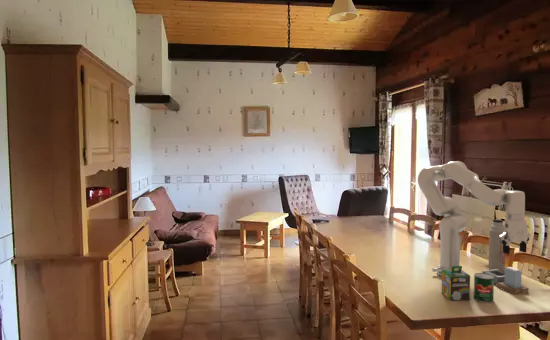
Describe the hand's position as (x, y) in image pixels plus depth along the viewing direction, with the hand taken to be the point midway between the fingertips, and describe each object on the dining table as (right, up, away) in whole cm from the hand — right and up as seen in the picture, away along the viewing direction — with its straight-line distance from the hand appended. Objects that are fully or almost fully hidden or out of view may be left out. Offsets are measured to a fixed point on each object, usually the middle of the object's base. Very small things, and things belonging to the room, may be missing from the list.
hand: (514, 252), depth 188 cm
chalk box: (-31, -19, -6) cm, 37 cm away
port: (0, -18, +14) cm, 22 cm away
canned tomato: (-20, -19, -10) cm, 29 cm away
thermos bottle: (+9, -17, +32) cm, 37 cm away
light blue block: (0, -18, +2) cm, 18 cm away
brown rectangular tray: (0, -18, +2) cm, 18 cm away
